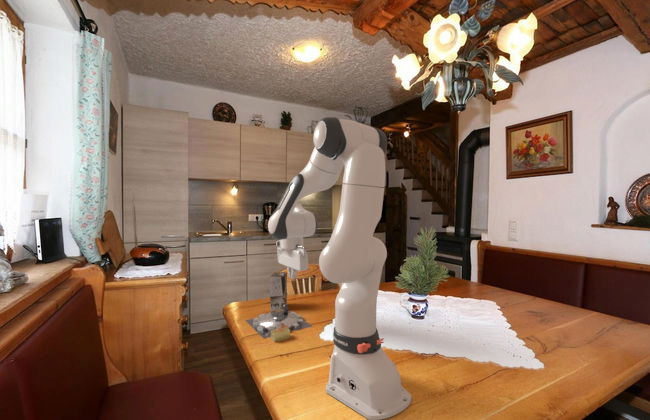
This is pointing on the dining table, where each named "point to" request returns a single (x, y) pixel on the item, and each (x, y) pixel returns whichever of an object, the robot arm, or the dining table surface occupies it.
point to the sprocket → (277, 320)
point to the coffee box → (278, 291)
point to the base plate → (267, 335)
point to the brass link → (280, 334)
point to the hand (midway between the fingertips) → (292, 278)
